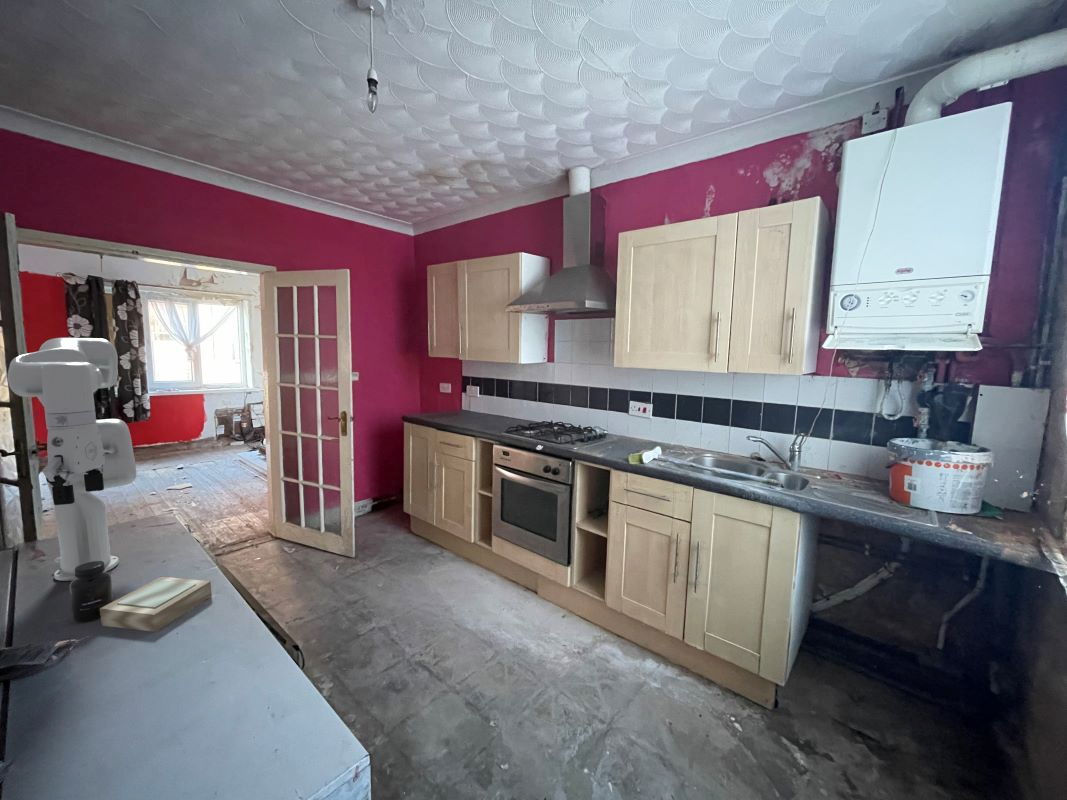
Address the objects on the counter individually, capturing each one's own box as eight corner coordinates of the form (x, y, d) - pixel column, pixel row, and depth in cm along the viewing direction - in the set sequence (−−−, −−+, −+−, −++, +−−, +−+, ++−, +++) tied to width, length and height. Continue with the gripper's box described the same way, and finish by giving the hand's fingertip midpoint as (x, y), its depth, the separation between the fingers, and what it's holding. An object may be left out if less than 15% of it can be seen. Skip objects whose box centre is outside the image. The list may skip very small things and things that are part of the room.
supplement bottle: (88, 625, 98) (82, 574, 97) (64, 622, 100) (58, 571, 98) (122, 608, 105) (117, 560, 104) (99, 604, 106) (94, 557, 105)
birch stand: (101, 625, 98) (99, 607, 98) (163, 591, 112) (161, 575, 112) (155, 631, 96) (153, 613, 96) (211, 596, 110) (210, 580, 110)
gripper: (64, 425, 89) (74, 508, 91) (117, 414, 105) (124, 484, 107) (16, 427, 87) (27, 512, 88) (77, 416, 103) (85, 487, 105)
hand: (80, 497), depth 98 cm, fingers open, 9 cm apart
